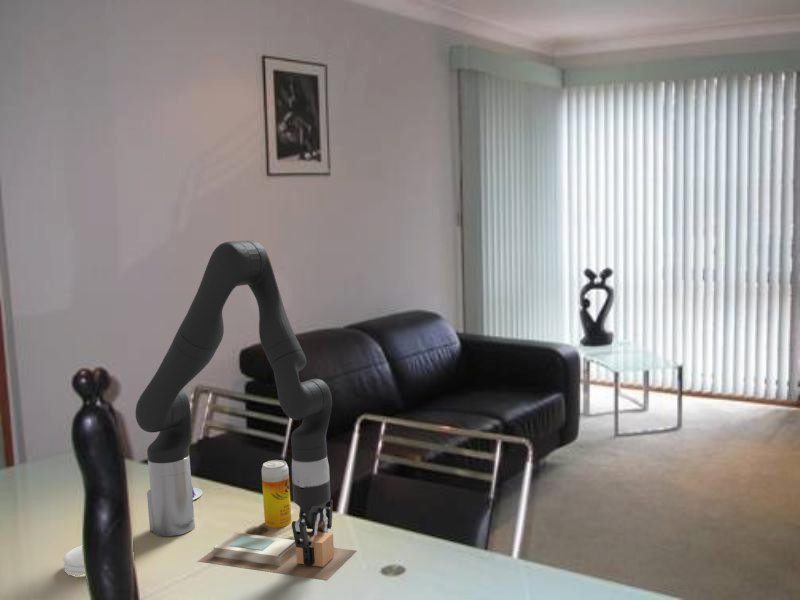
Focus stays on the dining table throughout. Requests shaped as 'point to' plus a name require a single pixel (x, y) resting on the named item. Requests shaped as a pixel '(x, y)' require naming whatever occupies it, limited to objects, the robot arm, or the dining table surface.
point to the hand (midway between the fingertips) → (315, 557)
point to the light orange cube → (319, 549)
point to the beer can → (276, 494)
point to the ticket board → (289, 565)
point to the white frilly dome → (74, 562)
